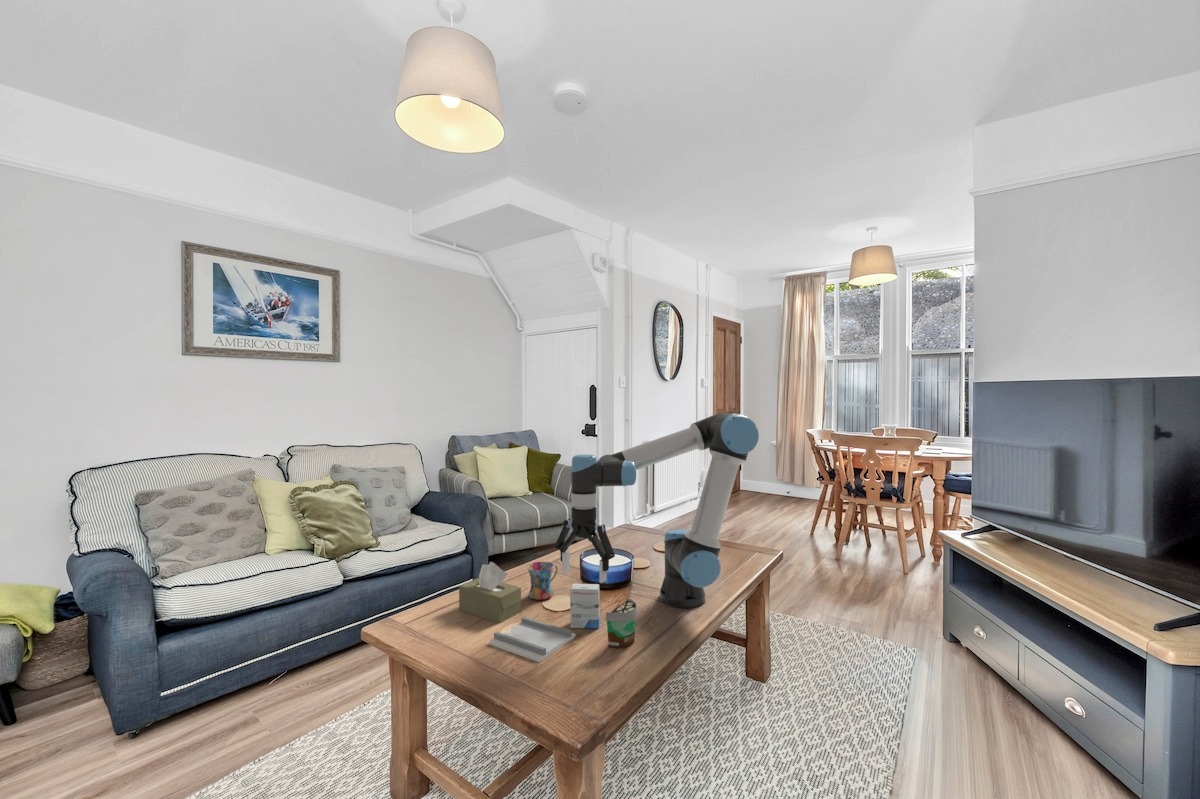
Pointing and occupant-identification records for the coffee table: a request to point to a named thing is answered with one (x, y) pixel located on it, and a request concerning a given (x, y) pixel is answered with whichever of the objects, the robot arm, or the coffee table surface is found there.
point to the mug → (541, 580)
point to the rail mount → (532, 639)
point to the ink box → (584, 606)
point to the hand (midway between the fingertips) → (584, 577)
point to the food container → (622, 625)
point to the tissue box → (490, 595)
